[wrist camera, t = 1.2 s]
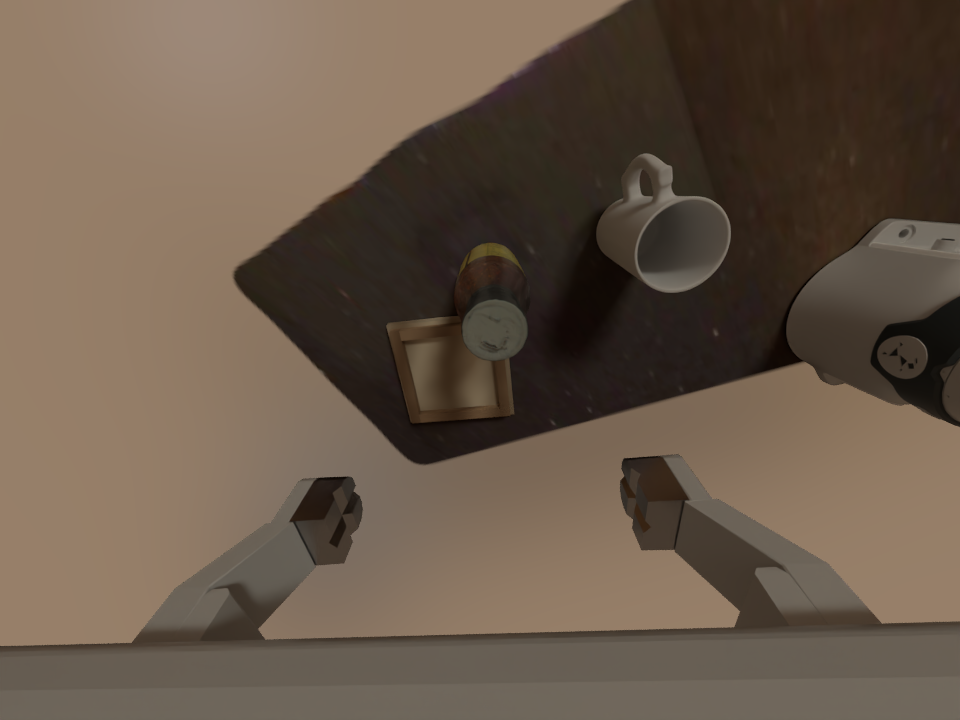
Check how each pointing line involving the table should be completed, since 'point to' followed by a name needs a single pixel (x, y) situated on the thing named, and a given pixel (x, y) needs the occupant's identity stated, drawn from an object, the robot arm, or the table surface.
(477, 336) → the sauce bottle
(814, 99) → the table surface
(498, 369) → the seat plate
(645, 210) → the mug
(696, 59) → the table surface
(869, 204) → the table surface
